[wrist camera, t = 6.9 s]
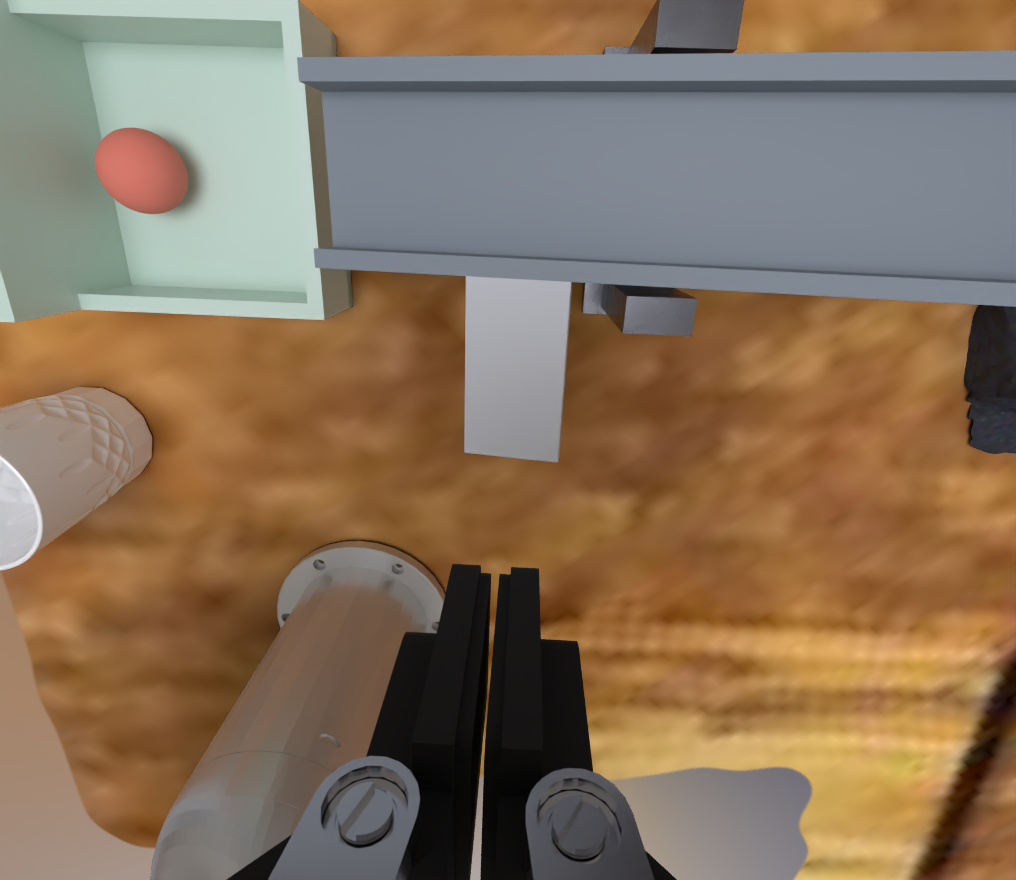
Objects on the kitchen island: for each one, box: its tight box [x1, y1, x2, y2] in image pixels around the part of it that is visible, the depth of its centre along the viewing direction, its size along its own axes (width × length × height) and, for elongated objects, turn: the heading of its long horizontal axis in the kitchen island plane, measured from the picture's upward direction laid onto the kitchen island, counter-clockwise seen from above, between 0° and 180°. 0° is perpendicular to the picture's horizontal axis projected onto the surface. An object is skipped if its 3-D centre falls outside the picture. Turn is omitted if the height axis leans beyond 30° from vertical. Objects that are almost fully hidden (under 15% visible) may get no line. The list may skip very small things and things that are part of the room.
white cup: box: [0, 387, 152, 570], centre depth 33 cm, size 8×8×10 cm
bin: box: [0, 0, 353, 322], centre depth 27 cm, size 14×14×9 cm
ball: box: [95, 128, 188, 214], centre depth 29 cm, size 4×4×4 cm
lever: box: [297, 51, 1016, 463], centre depth 24 cm, size 16×30×5 cm, turn 88°
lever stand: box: [582, 0, 744, 336], centre depth 26 cm, size 13×5×9 cm, turn 178°
